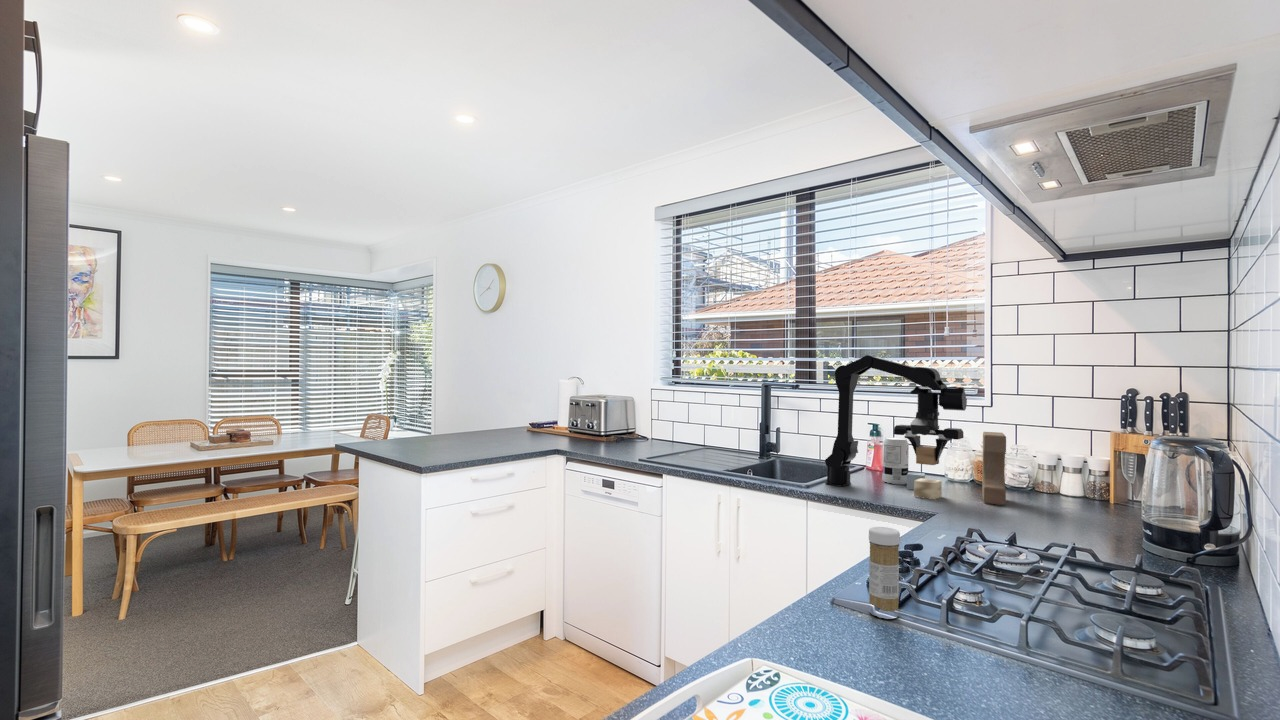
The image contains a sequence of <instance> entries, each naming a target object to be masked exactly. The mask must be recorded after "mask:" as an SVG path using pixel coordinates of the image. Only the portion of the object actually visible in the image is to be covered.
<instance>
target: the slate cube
mask: <svg viewBox="0 0 1280 720" xmlns="http://www.w3.org/2000/svg"><path fill="white" fill-rule="evenodd" d="M920 478H923V479H926V473H925V472H924V473H923V472H914V471H908V473H907V483H906V490H908V489H914V481H915V480H917V479H920Z"/></svg>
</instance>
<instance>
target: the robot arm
mask: <svg viewBox="0 0 1280 720" xmlns="http://www.w3.org/2000/svg"><path fill="white" fill-rule="evenodd" d="M870 369H873V370H874V369H875V370H876V371H882V372H884V373H887V374H888V373H889V374H891V375H895V376H898V377H902V378H905V379H907V380H908V381H910V382H912V383H914V384H916V386H915V387H914V388H913V389H912V390H911V391H910V392H909V393H910V394H913V395H916V394H917V412H915V413H916V414H915V418H913V420H912V421H911V422H910V423H909V424H897V425H895V426H894V428H893V435H896V436H897V435H898V436H904V437H903V438H904V439H908V440H907V441H908V442H910V444H911V446H912V449H913V451H914V454H915V455H916V447H918V446H921V435H922V436H927V435H928V436H937V437H938V438H935V443H936V446H935V447H936V455H935V458H936V461H938V460H939V461H940V458H941V456H942V453H943V452H944V448H945V447H946V445H947V443H948V442H949V441H950V442H951V441H952V440H961V439H964V431H963V429H962V428H957V427H956V428H955V427H948V428H944V429H940V425H939V416H940V412H939V407H942V409H943V410H945V411H966V409H967V404H968V400H967V396H966V391H965V387H947V386H946V384H945V383H944V382H943V381H942V379H941V375H940V374H941V373H939V370H937V369H935V368H933V367H924V366H912V365H907V364H903V363H900V362H896V361H893V360H889V359H884V358H880V357H877V356H875V355H873V354H871V355H870V354H866V355H863V356H862V357H860V358H859V359H857V360H854V361H852V362H850V363H847V364H846V365H845V364H842V365H839V366H838V367H837V368H836V369H835V370H834V379H835V385H836V388H837V390H838V413H837V414H838V415H837V418H838V419H837V436H836V438H835V440H834V443H833V445H832V450H831V454H830V455H828V457H826V458H825V459H824V462H825V466H826V467H827V468H826V469H827V472H826V475H827V476H826V481H825V482H824V484H826V485H831V486H839V487H844V486H845V487H846V486H849V485H851V484H852V482H851V470H850V464H851V462H852V461H853V460H854V459H855V458H856V457H857V454H859V450H858V446H859V440H855V439H854V437H853V414H854V392H855V390H856V388H857V385H858V382H859V377H860V376H861V375H863V374H864V373H866V372H868V370H870ZM921 387H923V388H921ZM933 391H935V392H933ZM936 391H938V392H936ZM939 391H940V392H939Z"/></svg>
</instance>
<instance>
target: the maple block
mask: <svg viewBox="0 0 1280 720" xmlns="http://www.w3.org/2000/svg"><path fill="white" fill-rule="evenodd" d="M942 482H943V481H942V480H937V479H929V478H925V479H923V478H920V479H917V480H915V481H914V490H913V497H914V496H918V497H917V498H920V497H924V498H923V499H926V498H931V499H930V500H933V499H935V500H937V499H936V498H938V499H940V498H942V488H943V487H942V484H943V483H942ZM939 497H940V498H939Z"/></svg>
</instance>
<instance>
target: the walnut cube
mask: <svg viewBox="0 0 1280 720" xmlns="http://www.w3.org/2000/svg"><path fill="white" fill-rule="evenodd" d="M935 455H936V446H931V445H929V446H928V445H920V446H918V447H916V454H915V457H916V458H915V463H916V464H919V465H925V466H926V465H927V466H928V465H929V466H936V465H939V464H940V459H939V460H938V461H936V458H935Z"/></svg>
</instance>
